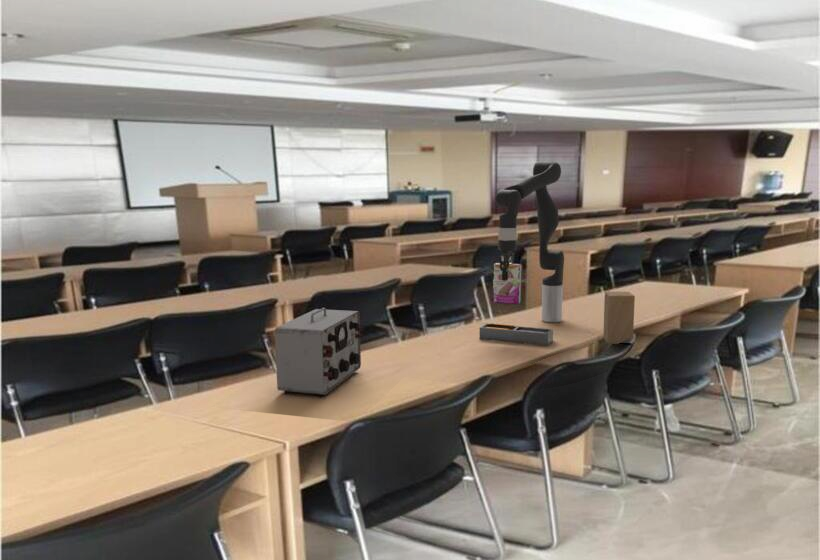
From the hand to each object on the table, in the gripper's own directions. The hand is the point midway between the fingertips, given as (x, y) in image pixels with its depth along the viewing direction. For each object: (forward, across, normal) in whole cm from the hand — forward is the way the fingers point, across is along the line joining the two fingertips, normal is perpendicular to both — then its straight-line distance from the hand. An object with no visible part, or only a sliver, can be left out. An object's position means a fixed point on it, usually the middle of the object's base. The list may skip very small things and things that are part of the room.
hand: (506, 279), depth 276 cm
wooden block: (+25, -13, +44) cm, 52 cm away
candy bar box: (+10, 0, 0) cm, 10 cm away
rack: (+25, +1, +5) cm, 26 cm away
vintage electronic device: (+27, +80, -40) cm, 93 cm away
